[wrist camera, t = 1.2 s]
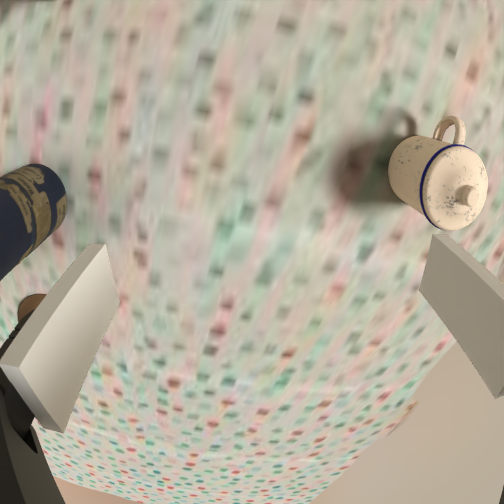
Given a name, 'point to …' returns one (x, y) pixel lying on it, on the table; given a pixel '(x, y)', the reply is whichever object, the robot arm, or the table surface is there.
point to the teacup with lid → (440, 177)
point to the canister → (28, 212)
